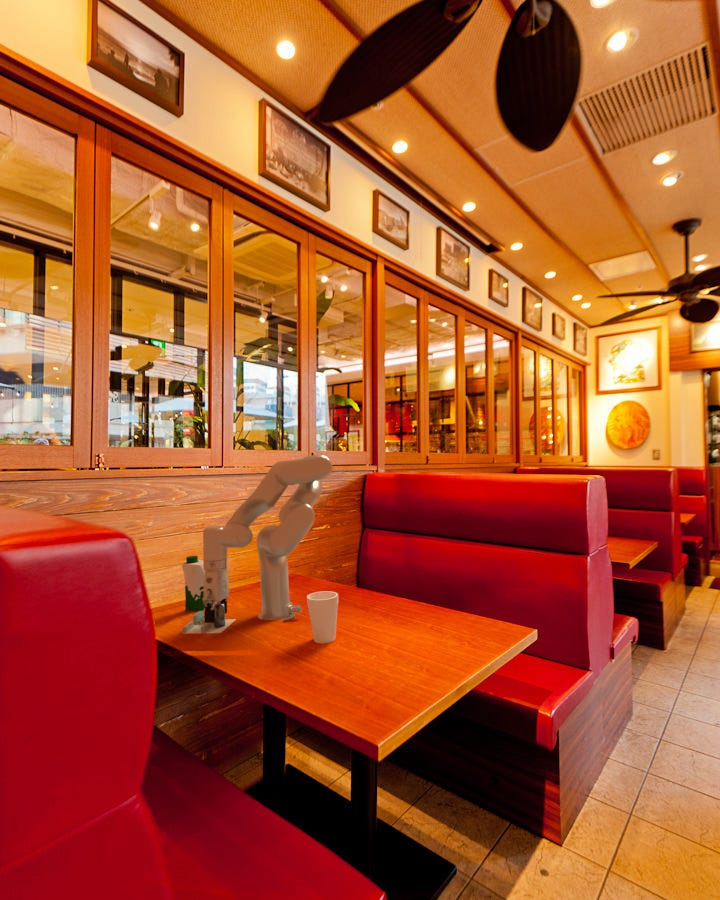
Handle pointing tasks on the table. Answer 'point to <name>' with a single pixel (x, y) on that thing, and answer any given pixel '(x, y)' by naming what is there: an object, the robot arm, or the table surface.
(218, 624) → the cell
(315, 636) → the foam cup
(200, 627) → the board
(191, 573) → the milk carton
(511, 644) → the table surface
